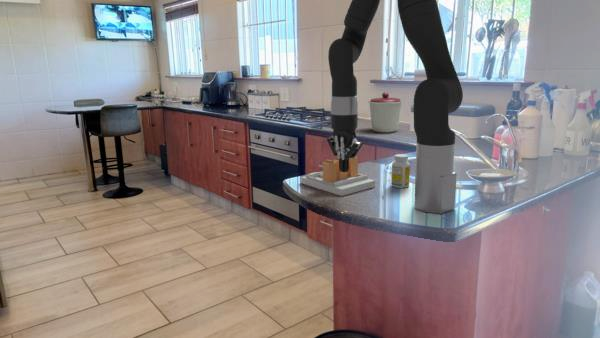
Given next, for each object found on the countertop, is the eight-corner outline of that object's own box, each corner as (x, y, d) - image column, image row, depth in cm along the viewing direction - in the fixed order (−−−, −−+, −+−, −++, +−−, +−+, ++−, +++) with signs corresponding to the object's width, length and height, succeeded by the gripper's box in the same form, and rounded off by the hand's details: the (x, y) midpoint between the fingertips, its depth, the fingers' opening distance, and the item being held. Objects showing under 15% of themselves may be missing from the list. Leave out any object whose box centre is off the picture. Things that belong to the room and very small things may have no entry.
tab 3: (357, 176, 137) (357, 155, 135) (350, 177, 135) (350, 157, 134) (351, 174, 139) (351, 154, 138) (344, 176, 138) (344, 155, 136)
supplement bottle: (394, 188, 131) (395, 157, 128) (389, 183, 136) (389, 154, 134) (411, 187, 131) (412, 156, 129) (405, 182, 136) (406, 153, 134)
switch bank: (374, 186, 133) (375, 176, 132) (341, 196, 125) (341, 184, 124) (333, 175, 148) (333, 165, 147) (301, 183, 140) (301, 172, 139)
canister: (407, 130, 237) (409, 91, 232) (390, 135, 224) (390, 94, 219) (379, 128, 249) (380, 91, 244) (361, 132, 236) (361, 93, 231)
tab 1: (336, 181, 132) (336, 160, 130) (329, 183, 130) (328, 161, 128) (330, 179, 134) (329, 158, 133) (322, 181, 132) (322, 160, 131)
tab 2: (347, 178, 134) (347, 158, 133) (340, 180, 133) (340, 159, 131) (340, 176, 137) (340, 156, 135) (333, 178, 135) (333, 158, 133)
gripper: (370, 113, 119) (369, 173, 123) (338, 109, 129) (338, 165, 134) (350, 115, 115) (350, 178, 119) (319, 111, 125) (319, 169, 129)
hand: (343, 171), depth 126 cm, fingers closed
